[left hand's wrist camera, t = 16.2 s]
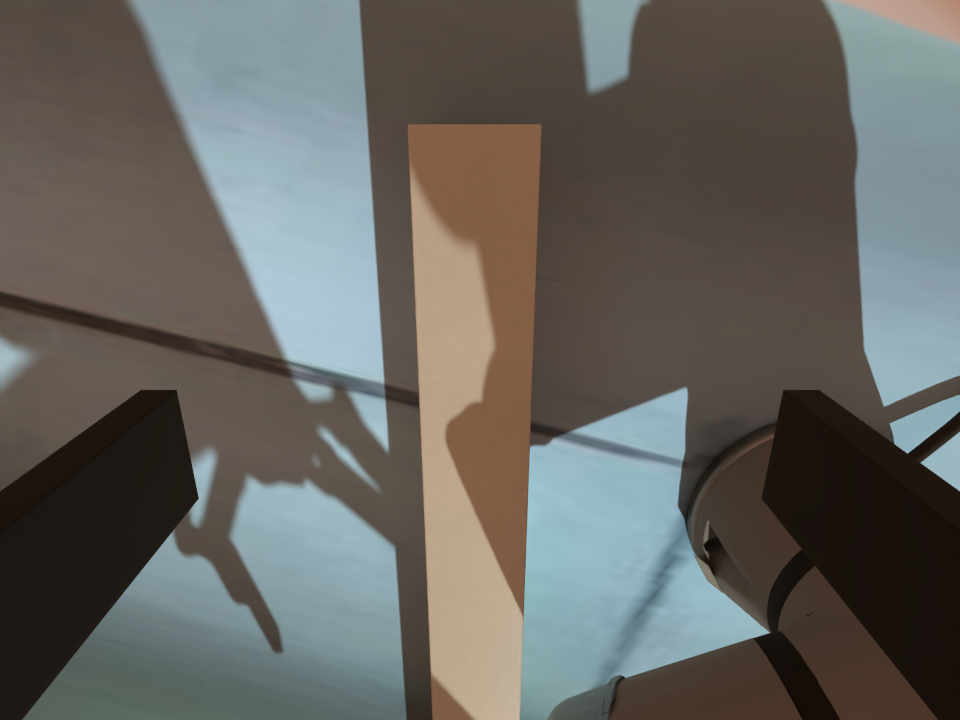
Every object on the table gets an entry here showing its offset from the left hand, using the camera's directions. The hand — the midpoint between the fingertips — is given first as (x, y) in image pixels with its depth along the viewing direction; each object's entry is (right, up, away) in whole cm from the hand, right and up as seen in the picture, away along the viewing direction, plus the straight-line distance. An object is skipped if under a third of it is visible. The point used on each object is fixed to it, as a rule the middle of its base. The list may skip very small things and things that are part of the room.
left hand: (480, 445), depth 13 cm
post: (0, -21, +34) cm, 39 cm away
